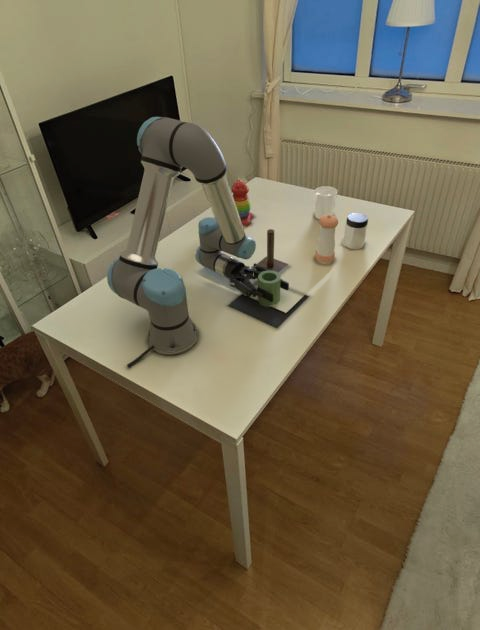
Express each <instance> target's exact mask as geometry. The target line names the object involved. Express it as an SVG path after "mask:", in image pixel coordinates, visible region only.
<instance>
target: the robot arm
mask: <svg viewBox="0 0 480 630" xmlns="http://www.w3.org/2000/svg"><path fill="white" fill-rule="evenodd" d="M136 144H137V147H138V151H139V153H140V154H141V158H140V164H141V165H142V166H143V168H144V170H143V176H142V180H141V183H140V190H139V192H138V198H137V201H136V206H135V212H134V214H133V219H132V224H131V229H130V232H129V237H128V242H127V245H126V249H125V250H124V251H122V252H121V253H120V254H119V258H116V259H115V260H114V261H113V263H111V264H110V266H109V267H108V270H107V274H106V280H107V285H108V287H109V289H110V290H111V292H113V293H114V294H116V295H117V296H118V297H120V298H121V299H123V300H126V301H128V302H130V303H132V304H134V305H135V306H138V307H139V308H142V309H144V310H146V311H147V312H148V316H149V320H150V325H149V331H148V337H147V338H148V344H149V346H150V347H148V348H147V349H145V350H144V351H143V352H142V353H141V354H140V355H139V356H138V357H136V358H135V359H133V360H132V361H131V362H129V363H127V364H126V366H127V368H130V367H132V366H133V365H135V364H136V363H138V362H139V361H140V360H142V358H144V357H145V356H146V355H148V354H149V353H150V352H151V351H152V350H153V351H154V352H155V353H157V354H160V355H163V356H176V355H180V354H181V355H182V354H183V353H186V352H188V351H189V350H190V349H192V348H194V346H195V345H196V343H197V341H198V330H197V325H196V323H194V321H193V320H192V319H191V317H190V314H189V305H188V299H187V290H186V289H187V288H186V286H185V282H184V279H183V277H182V275H181V274H179V272H177V271H176V270H174V269H170V268H166V267H164V268H163V269H162V268H161V267H159V261H158V260H157V259H156V253H157V250H158V246H159V243H160V242H159V240H160V237H161V233H162V229H163V224H164V221H165V217H166V213H167V209H168V204H169V200H170V196H171V193H172V187H173V184H174V179H175V178H176V177H178V176H179V175H181V173H182V170H183V168H185V169H186V170H188V171H190V172H191V173H192V175H193V177H194V179H195V181H196V182H197V183H198V184H200V185H201V187H202V189H203V192H204V195H205V197H206V199H207V202H208V204H209V207H210V209H211V211H212V214H213V216H214V217H211V216H210V217H204V218H202V219H200V220H199V222H198V238H199V246H198V248H197V249H196V250H195V254H194V259H195V261H196V262H197V264H199V265H201V266H202V267H203V268H206V269H208V270H211V271H213V272H215V273H217V274H219V275H220V276H223V277H225V278H226V279H228V280H229V286H230V287H232V288H235V289H236V290H238V291H239V292H240V293H241V294H244V295H246V296H248V297H251V298H256V297H257V298H258V297H260V298H264V299H266V300H268V301H270V302H273V294H271V293H269V292H267V291H265V290H263V289H261V288H259V287H258V286H257V287H256V286H255V285H254V284H253V283H252V282H251V280H258V275H259V274H260V273H261V272H263V271H267V270H270V271H274V270H271V269H268V268H265V267H262V266H259V265H258V263H256V262H255V263H253V265H252V266H249V265H246V264H245V263H244V262H243V261H242V260H249V259H251V258H252V257H253V255H254V254H255V251H256V248H257V243H256V241H255V239H254V238H251V237H250V236H247V235H246V232H245V228H244V226H243V225H242V222H241V219H240V216H239V213H238V210H237V207H236V204H235V201H234V198H233V192H232V188H231V186H230V183H229V181H228V178H227V172H228V166H227V163H226V160H225V157H224V155H223V153H222V151H221V149H220V148H219V146H218V144H217V143H216V141H215V140H214V138H213V137H212V136H211V135H210V133H209V132H208V131H207V130H206V129H205V128H203V127H202V126H200V125H199V124H196V123H193V122H187V121H183V120H179V119H175V118H171V117H166V116H152V117H150V118H148V119H147V120H145V121H144V122H143V123H142V125H141V126H140V127H139V129H138V132H137V137H136ZM228 254H229V255H228ZM234 257H236V258H238V259H236V258H234ZM239 259H242V260H239ZM275 272H276V271H275ZM280 289H282V290H285V291H289V290H290V284H289V282H287V281H285V280H283V279H282V278H281V280H280Z"/></svg>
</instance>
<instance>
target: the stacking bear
mask: <svg viewBox="0 0 480 630" xmlns="http://www.w3.org/2000/svg"><path fill="white" fill-rule="evenodd" d="M249 191H250V188H249V186H248V185H247V184H246V183H245V182H244V181H241V179H238V180H237V181H236V182H234V183H233V184H232V185H231V192H232V195H233V198H234V201H235V204H236V207H237V210H238V213H239V216H240V219H241V222H242V225H243V227H246V226H250V225H251V224H252V221H251V219H253V218H254V213H253V212H251V202H250V198H249V195H248V193H249Z"/></svg>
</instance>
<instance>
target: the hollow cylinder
mask: <svg viewBox="0 0 480 630" xmlns="http://www.w3.org/2000/svg"><path fill="white" fill-rule="evenodd" d="M281 279H282V278H281V274H280V272H279V273H278V272H275V271H270V270H267V271H263V272H261V273H260V274H259V275H258V279H257V288H258V287H259V288H261V289H263V290H265V291H267V292H269V293H271V294H273V302H270V301H268V300H266V299H264V298H260V297H258V296H257V300H258V302H259V303H260V305H262V306H265V307H272V306H274V305H277V304H279V302H280V301H281V300H280V299H281V287H280V280H281Z"/></svg>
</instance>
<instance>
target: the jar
mask: <svg viewBox="0 0 480 630" xmlns="http://www.w3.org/2000/svg"><path fill="white" fill-rule="evenodd" d="M368 223H369V217H368V215H366V214H364V213H361V212H352V213H349V214H348V215H347V216H346V221H345V226H344V231H343V233H344V234H343V239H342V240H343V241H342V245H343V246H344V247H346V248H347V249H349V250H358V249H360V250H361V249H362V248H363V247H364V244H365V241H366V236H367V230H368Z"/></svg>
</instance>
